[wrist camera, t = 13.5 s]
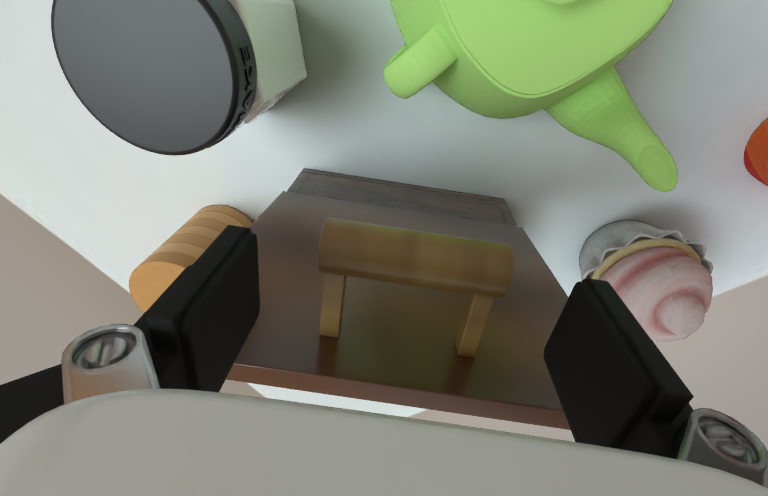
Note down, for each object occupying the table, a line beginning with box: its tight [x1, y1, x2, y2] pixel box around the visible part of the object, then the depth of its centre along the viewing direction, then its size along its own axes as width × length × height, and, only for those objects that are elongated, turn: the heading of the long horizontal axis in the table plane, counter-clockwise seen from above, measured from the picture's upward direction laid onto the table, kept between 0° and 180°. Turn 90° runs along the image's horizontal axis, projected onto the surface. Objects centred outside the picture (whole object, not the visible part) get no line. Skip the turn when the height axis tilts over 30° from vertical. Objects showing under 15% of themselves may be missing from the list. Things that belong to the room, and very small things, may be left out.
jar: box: [51, 0, 307, 155], centre depth 22 cm, size 9×8×12 cm
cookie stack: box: [129, 205, 253, 313], centre depth 31 cm, size 6×6×9 cm
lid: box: [226, 191, 571, 430], centre depth 19 cm, size 16×17×5 cm
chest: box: [287, 169, 517, 227], centre depth 33 cm, size 15×17×5 cm
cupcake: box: [579, 221, 713, 342], centre depth 29 cm, size 9×9×10 cm
